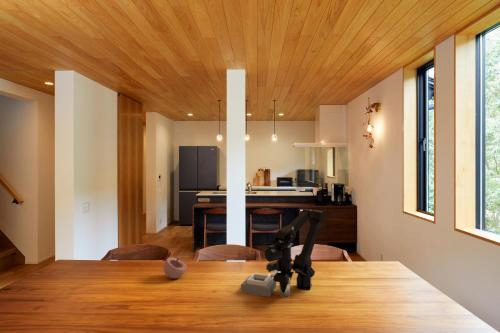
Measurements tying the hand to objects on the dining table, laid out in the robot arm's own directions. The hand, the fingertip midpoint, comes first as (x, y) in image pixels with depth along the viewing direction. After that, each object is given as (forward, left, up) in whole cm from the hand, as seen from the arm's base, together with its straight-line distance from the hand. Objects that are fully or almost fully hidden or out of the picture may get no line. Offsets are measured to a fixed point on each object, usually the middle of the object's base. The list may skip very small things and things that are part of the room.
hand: (284, 290), depth 144 cm
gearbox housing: (+13, -1, -2) cm, 13 cm away
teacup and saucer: (+8, -20, -3) cm, 22 cm away
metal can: (0, 0, -2) cm, 2 cm away
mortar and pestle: (+60, 0, -2) cm, 60 cm away
